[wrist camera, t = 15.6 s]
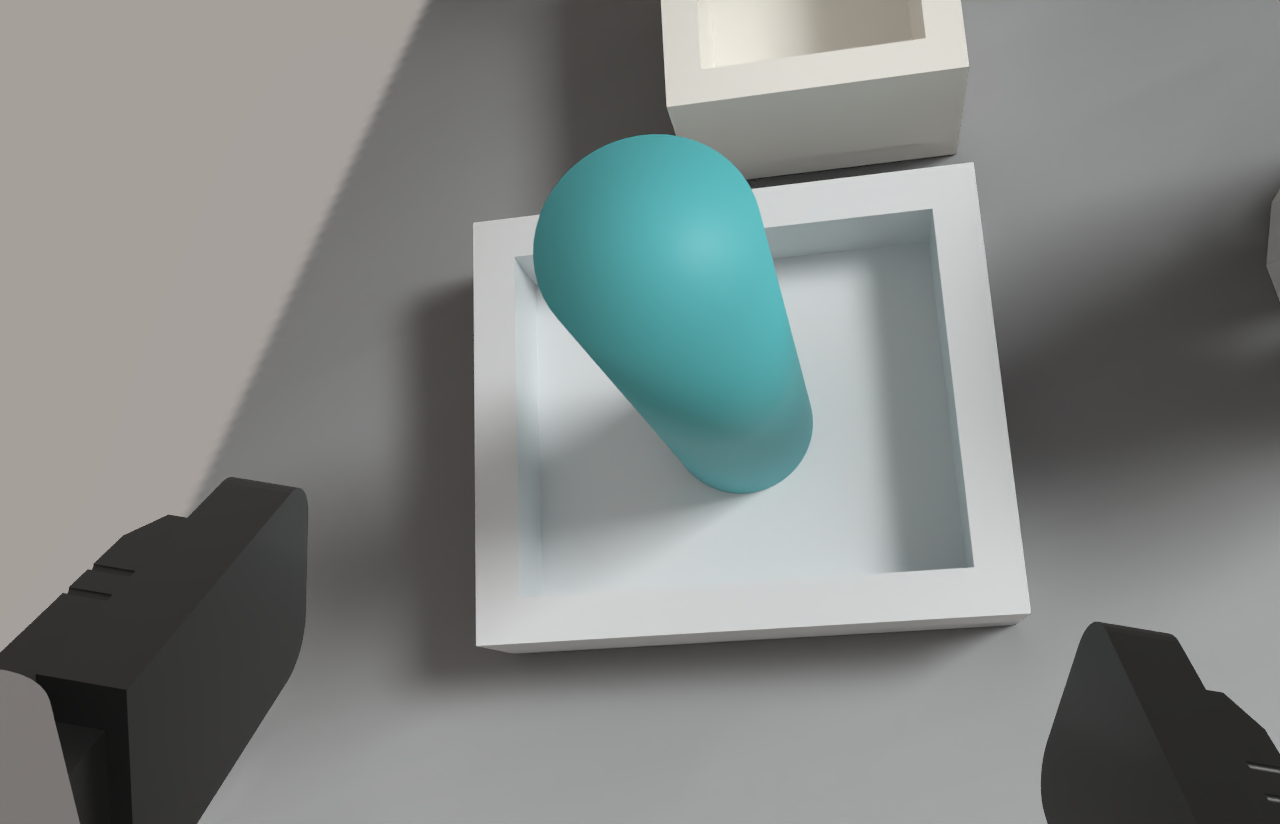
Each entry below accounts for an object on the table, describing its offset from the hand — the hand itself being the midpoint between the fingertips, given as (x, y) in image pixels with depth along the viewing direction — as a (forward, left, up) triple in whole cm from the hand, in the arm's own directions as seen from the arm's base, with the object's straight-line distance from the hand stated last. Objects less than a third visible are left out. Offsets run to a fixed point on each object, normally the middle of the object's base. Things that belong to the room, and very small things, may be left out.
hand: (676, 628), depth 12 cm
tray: (-7, -1, -22) cm, 23 cm away
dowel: (-7, -1, -20) cm, 22 cm away
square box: (-19, +2, -22) cm, 29 cm away
